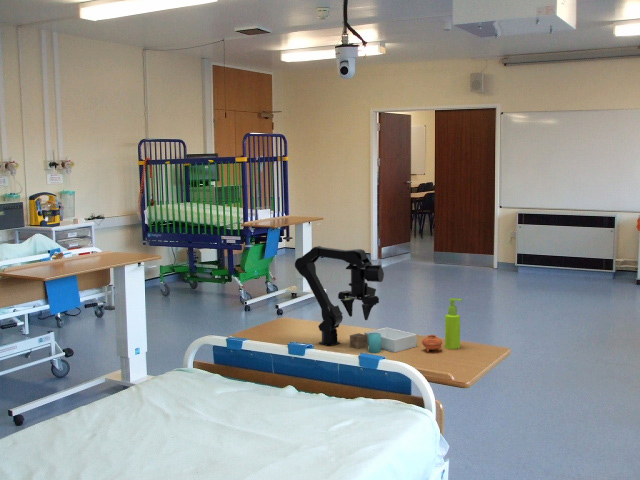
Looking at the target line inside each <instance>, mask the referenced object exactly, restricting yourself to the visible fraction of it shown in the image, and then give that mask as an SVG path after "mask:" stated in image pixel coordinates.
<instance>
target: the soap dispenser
mask: <svg viewBox="0 0 640 480" xmlns="http://www.w3.org/2000/svg"><path fill="white" fill-rule="evenodd" d="M456 301H459V302H463V299H462V298H458V297H456V298H455V297H453V298H452V297H451V298H448V302H450V305H449V306H448V307H447V308H448V309H447V311H448V313H447V314H445V317H444V318H445V319H444V327H445V328H444V335H445V336H444V337H445V340H444V341H445V342H444V343H445V345H444V347H445V349H449V350H458V349H457V348H459V349H460V348H461V315H460V314H458V306H456Z"/></svg>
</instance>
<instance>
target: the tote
mask: <svg viewBox="0 0 640 480" xmlns="http://www.w3.org/2000/svg"><path fill="white" fill-rule="evenodd" d="M369 333H380V334H381V350H383V351H384V350H385V351H387V352H390V353H391V352H392V353H398V352H402V351H405V350H409V349H412V348H416V347H418V334H416V333H414V332H413V333H412V332H409V331H406V330H405V331H404V330H399V329H396V328H391V327H383V328H379V329H374V330H370V331H366V332H364V333H363V334H364V335H367V347H369V342H368V334H369Z"/></svg>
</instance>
